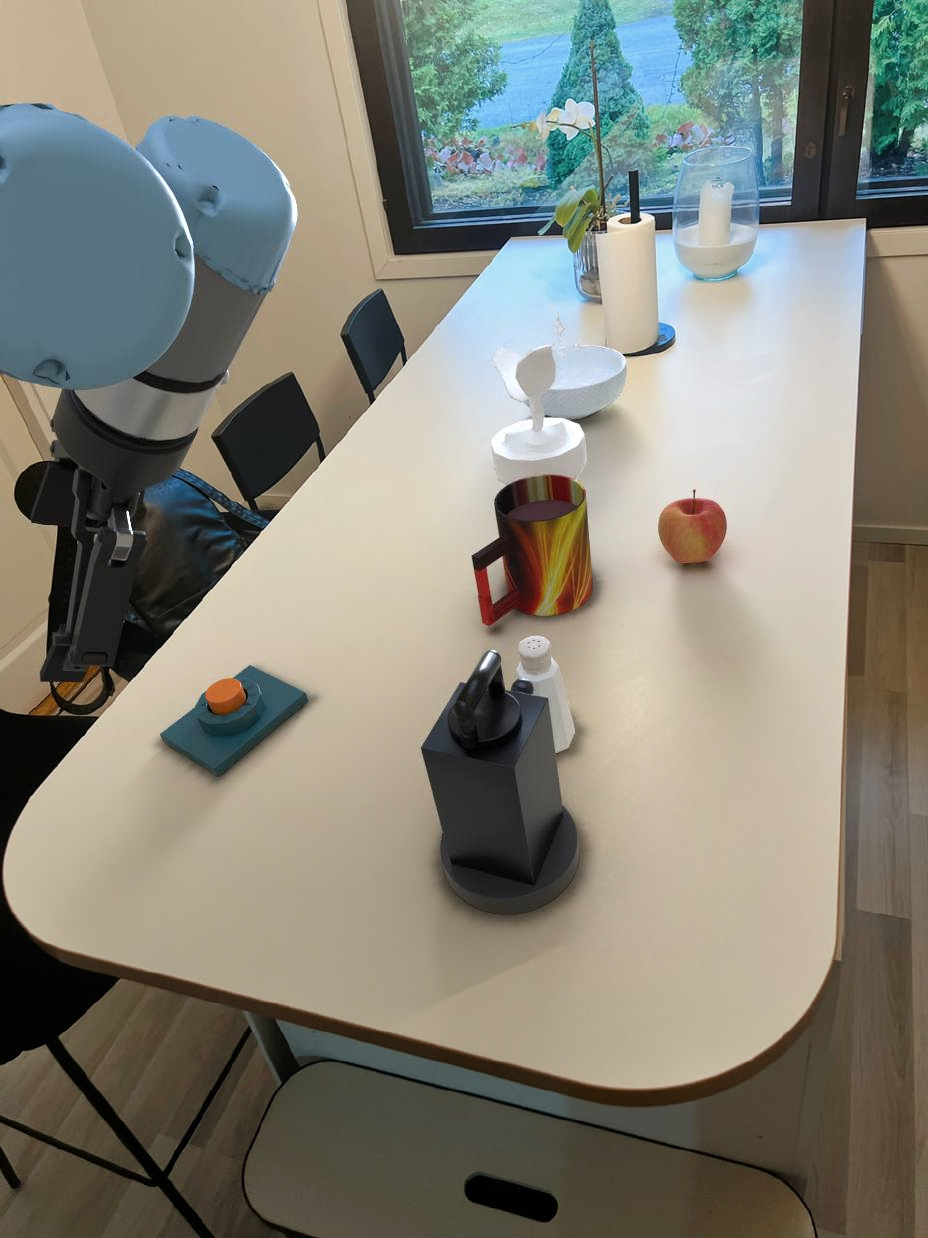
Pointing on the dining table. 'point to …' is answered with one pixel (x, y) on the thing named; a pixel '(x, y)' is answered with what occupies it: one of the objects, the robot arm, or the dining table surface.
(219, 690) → the power button
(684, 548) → the apple
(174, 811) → the dining table surface
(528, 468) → the potted plant
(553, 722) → the salt shaker
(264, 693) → the switch block
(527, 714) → the kettle
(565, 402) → the cereal bowl
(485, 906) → the kettle base
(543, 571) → the mug
